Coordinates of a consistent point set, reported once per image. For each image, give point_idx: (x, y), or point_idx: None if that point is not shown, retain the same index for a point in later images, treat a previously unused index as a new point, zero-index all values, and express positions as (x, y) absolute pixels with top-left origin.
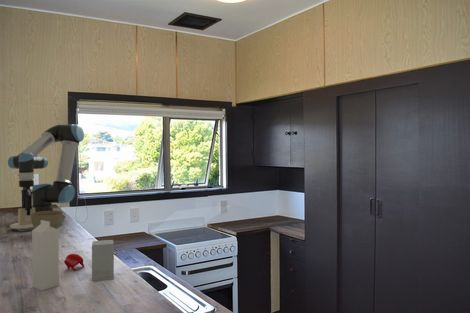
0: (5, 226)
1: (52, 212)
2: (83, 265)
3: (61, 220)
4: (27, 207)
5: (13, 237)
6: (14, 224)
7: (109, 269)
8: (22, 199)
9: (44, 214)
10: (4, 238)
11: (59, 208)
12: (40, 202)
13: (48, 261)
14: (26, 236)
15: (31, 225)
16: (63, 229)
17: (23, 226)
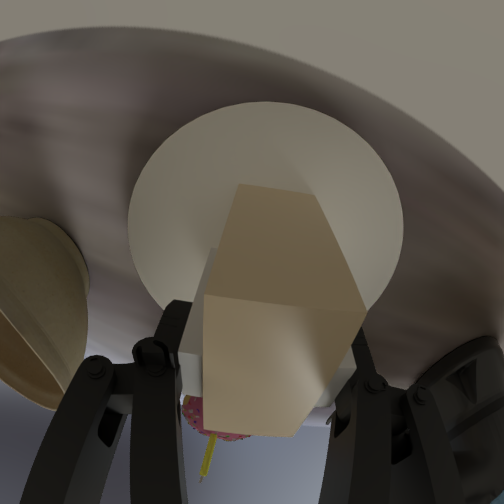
0: (483, 179)
1: None
2: None
3: (14, 344)
4: (77, 374)
5: (29, 78)
6: (345, 169)
7: None
8: (431, 499)
9: (66, 364)
10: (40, 32)
11: (204, 465)
12: (470, 439)
13: None
14: (14, 147)
15: (160, 252)
16: (93, 338)
17: (157, 187)
